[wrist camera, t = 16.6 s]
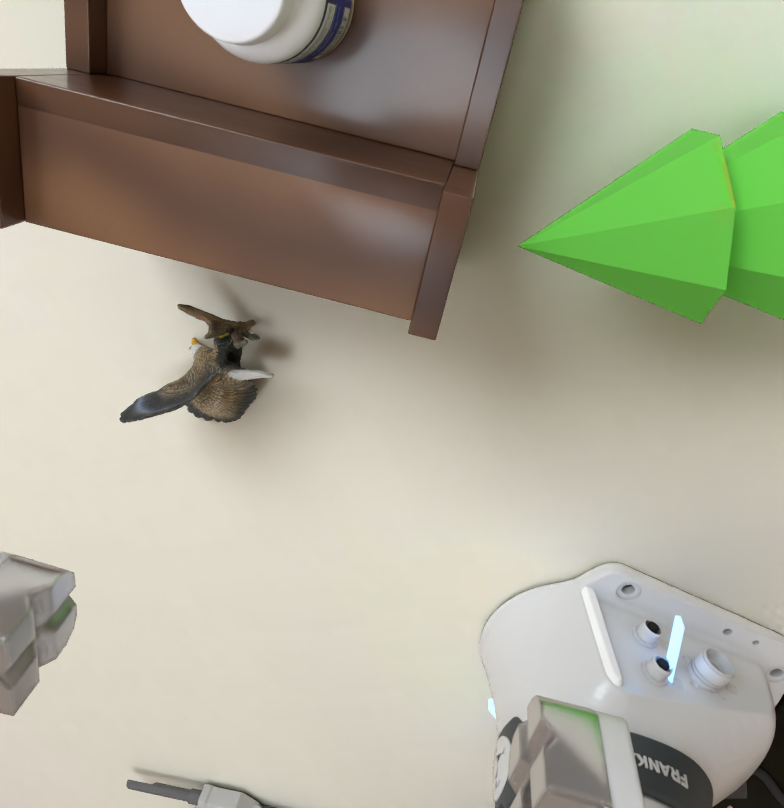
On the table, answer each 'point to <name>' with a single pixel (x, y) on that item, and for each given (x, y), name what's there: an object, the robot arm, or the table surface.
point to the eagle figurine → (207, 377)
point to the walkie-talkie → (199, 795)
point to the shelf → (266, 146)
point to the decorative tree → (685, 225)
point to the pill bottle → (274, 27)
